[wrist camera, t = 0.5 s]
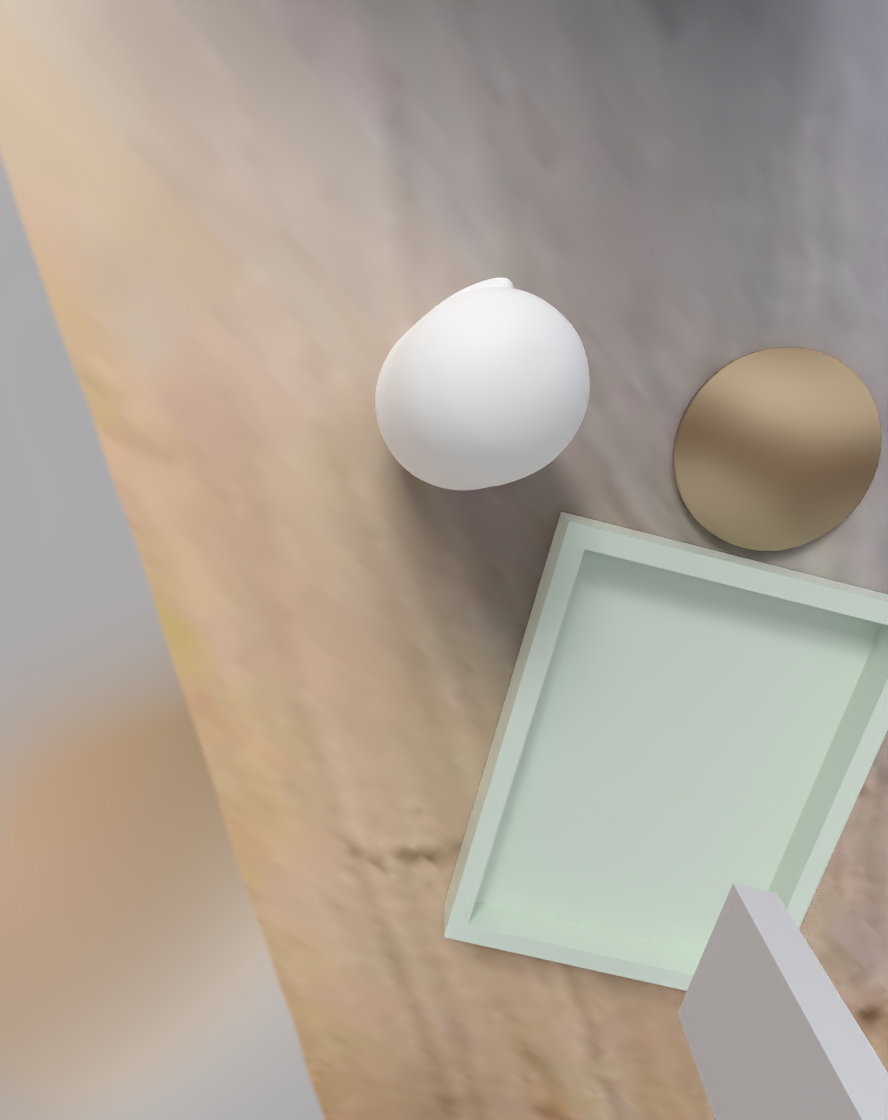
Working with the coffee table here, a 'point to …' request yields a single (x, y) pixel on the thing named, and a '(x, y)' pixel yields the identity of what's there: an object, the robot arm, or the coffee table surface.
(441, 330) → the figurine
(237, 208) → the coffee table surface
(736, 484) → the metal coaster
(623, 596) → the tray
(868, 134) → the coffee table surface
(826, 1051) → the robot arm
